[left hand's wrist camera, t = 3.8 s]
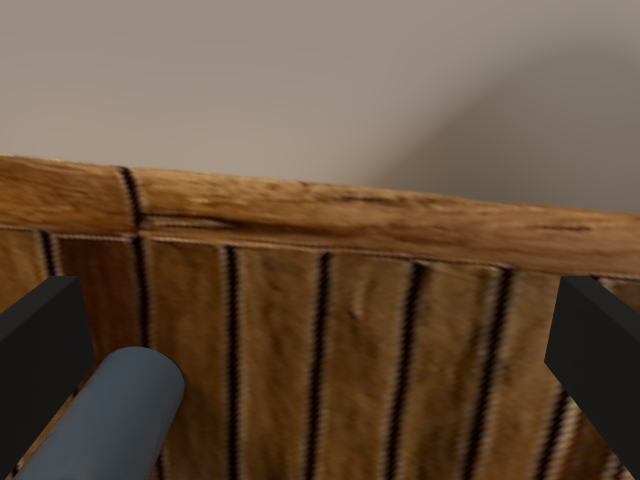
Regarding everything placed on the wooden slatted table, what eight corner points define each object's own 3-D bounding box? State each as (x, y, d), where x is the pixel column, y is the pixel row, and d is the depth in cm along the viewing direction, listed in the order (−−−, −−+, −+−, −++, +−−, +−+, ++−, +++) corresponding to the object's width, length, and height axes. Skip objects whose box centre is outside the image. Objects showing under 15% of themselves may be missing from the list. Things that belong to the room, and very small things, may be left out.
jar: (90, 345, 46) (-41, 501, 29) (181, 347, 46) (101, 504, 29) (103, 417, 49) (-9, 597, 32) (188, 419, 49) (119, 598, 32)
